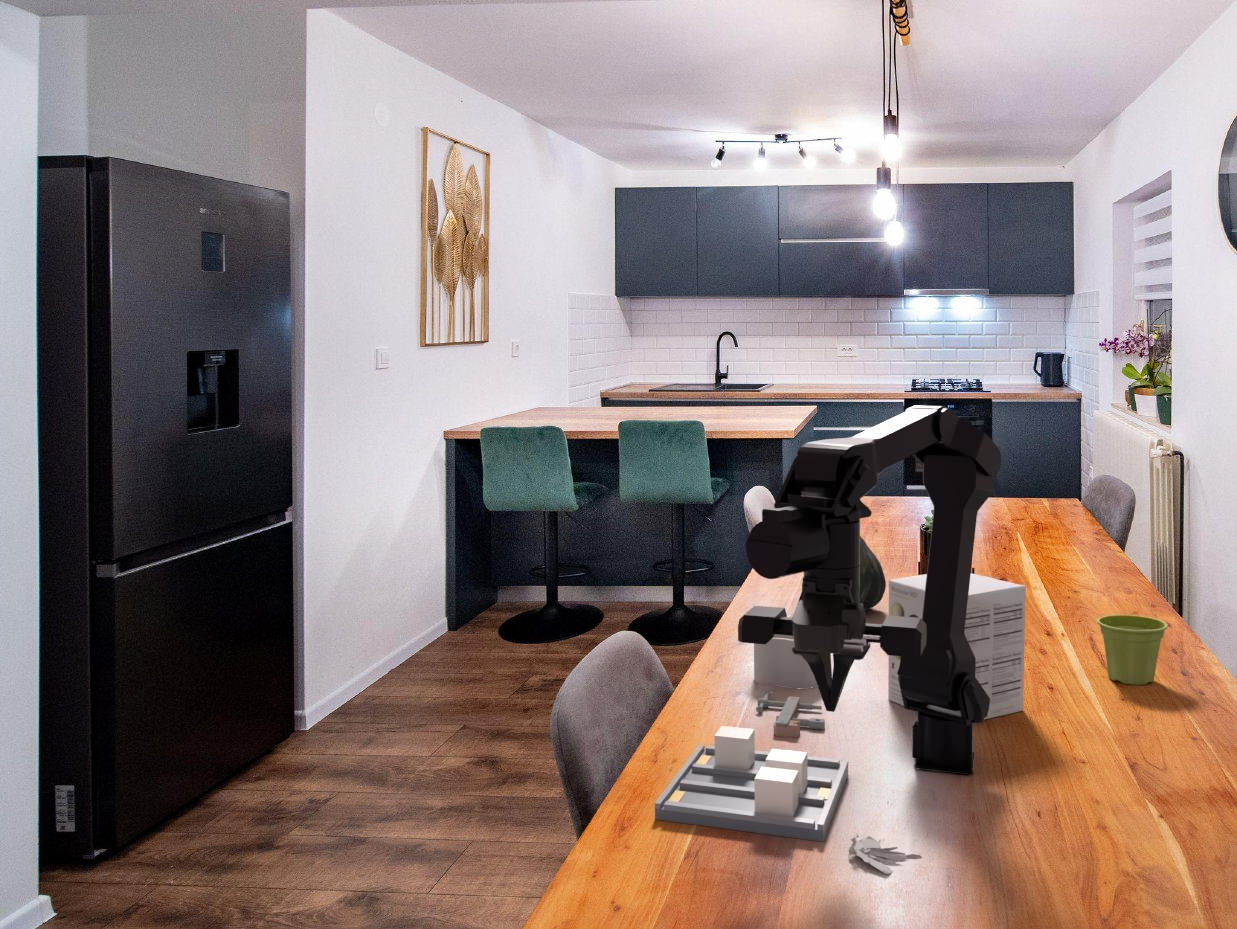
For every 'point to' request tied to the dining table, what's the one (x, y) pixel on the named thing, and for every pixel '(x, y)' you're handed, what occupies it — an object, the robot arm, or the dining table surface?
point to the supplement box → (976, 636)
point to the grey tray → (750, 797)
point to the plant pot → (1131, 647)
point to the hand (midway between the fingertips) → (831, 710)
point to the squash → (870, 577)
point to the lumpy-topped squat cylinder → (781, 664)
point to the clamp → (790, 715)
